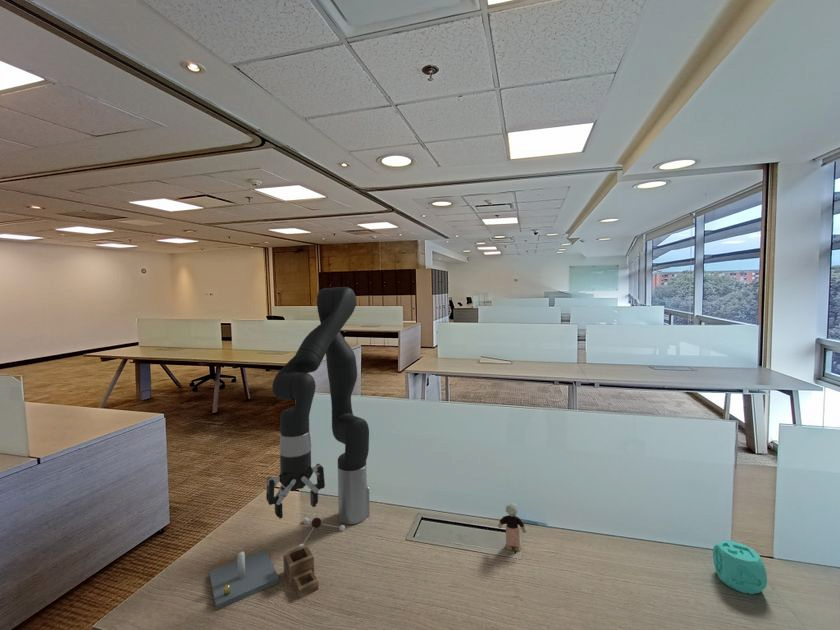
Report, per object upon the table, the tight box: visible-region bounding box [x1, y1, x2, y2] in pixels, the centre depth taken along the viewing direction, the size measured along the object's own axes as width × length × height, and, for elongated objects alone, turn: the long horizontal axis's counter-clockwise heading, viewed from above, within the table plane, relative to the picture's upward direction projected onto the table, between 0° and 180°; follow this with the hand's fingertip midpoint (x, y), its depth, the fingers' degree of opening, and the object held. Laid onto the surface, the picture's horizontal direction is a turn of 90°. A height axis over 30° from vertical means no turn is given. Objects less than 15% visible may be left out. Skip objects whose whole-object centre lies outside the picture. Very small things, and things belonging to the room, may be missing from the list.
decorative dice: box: [712, 540, 768, 595], centre depth 92 cm, size 8×8×8 cm
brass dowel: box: [224, 584, 230, 596], centre depth 88 cm, size 1×1×2 cm
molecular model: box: [297, 495, 346, 548], centre depth 113 cm, size 13×15×13 cm
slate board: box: [208, 549, 280, 611], centre depth 94 cm, size 14×13×7 cm
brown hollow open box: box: [282, 544, 319, 599], centre depth 94 cm, size 6×11×5 cm, turn 36°
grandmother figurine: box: [497, 502, 527, 552], centre depth 105 cm, size 8×4×13 cm, turn 84°
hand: (297, 511), depth 95 cm, fingers open, 8 cm apart
